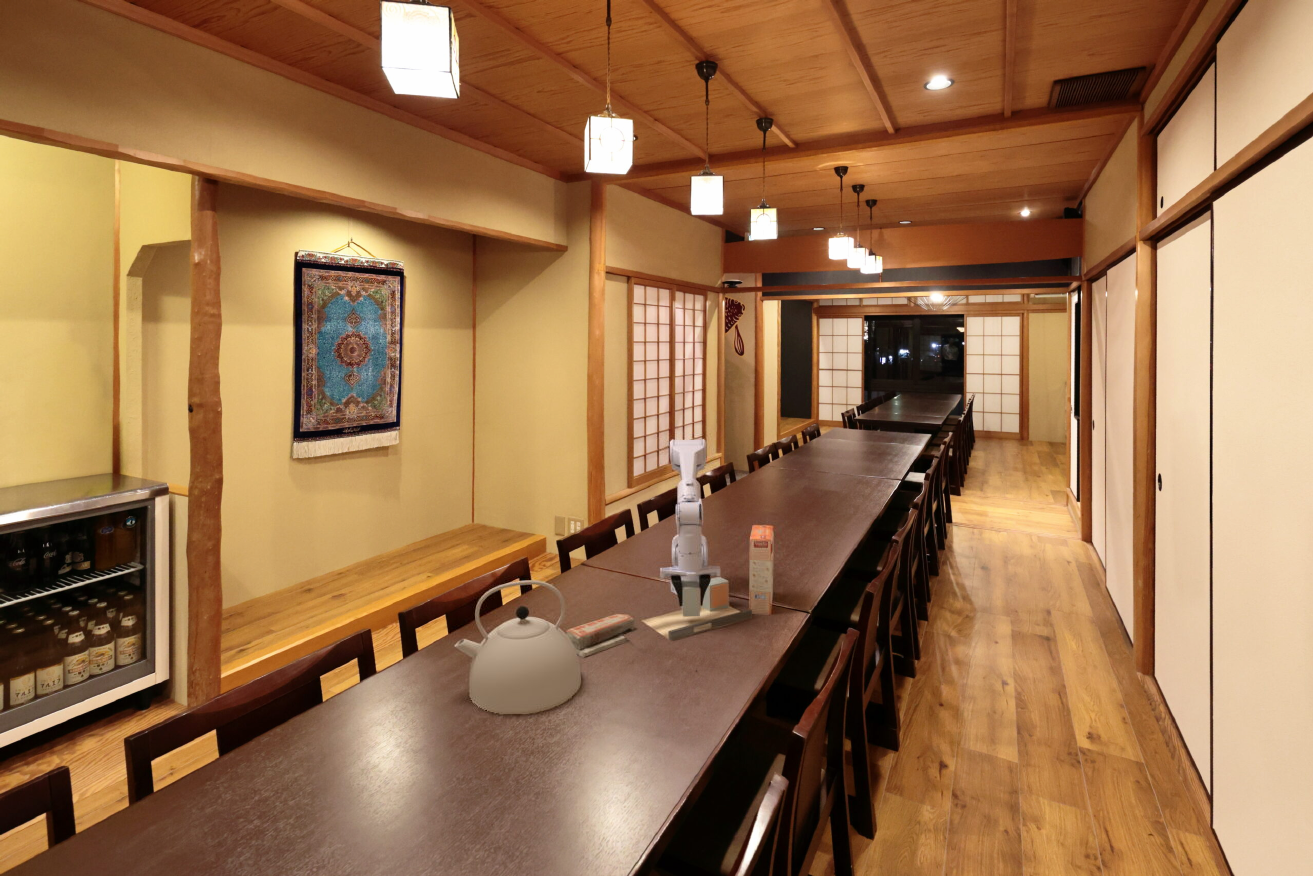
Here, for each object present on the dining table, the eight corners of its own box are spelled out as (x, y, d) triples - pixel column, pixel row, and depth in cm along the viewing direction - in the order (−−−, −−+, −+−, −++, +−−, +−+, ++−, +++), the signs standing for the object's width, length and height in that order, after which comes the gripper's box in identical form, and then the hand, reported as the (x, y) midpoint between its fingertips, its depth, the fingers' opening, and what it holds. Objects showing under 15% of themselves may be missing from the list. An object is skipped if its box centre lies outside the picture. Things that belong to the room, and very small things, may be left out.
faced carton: (701, 606, 176) (700, 581, 175) (719, 602, 179) (719, 576, 178) (710, 612, 172) (710, 585, 172) (729, 607, 176) (729, 581, 175)
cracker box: (772, 619, 170) (772, 539, 167) (748, 618, 171) (748, 538, 169) (774, 599, 184) (774, 524, 181) (751, 597, 185) (751, 523, 182)
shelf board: (641, 625, 168) (640, 612, 168) (719, 604, 180) (719, 593, 180) (670, 645, 156) (670, 632, 156) (752, 622, 168) (752, 610, 168)
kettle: (455, 725, 125) (448, 609, 122) (459, 670, 147) (452, 570, 144) (589, 705, 131) (585, 594, 128) (573, 654, 153) (569, 559, 150)
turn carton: (683, 616, 162) (682, 588, 161) (681, 607, 168) (680, 580, 167) (700, 616, 162) (700, 588, 161) (698, 606, 168) (697, 579, 167)
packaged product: (582, 639, 150) (558, 626, 158) (583, 660, 151) (559, 646, 158) (644, 617, 162) (619, 606, 169) (644, 636, 163) (619, 624, 170)
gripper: (660, 556, 158) (661, 612, 160) (722, 554, 159) (722, 609, 161) (659, 548, 165) (660, 600, 167) (718, 546, 166) (718, 598, 168)
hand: (690, 604), depth 164 cm, fingers closed on turn carton, 4 cm apart
